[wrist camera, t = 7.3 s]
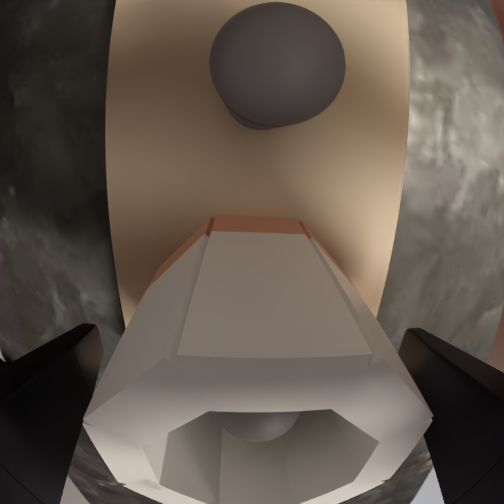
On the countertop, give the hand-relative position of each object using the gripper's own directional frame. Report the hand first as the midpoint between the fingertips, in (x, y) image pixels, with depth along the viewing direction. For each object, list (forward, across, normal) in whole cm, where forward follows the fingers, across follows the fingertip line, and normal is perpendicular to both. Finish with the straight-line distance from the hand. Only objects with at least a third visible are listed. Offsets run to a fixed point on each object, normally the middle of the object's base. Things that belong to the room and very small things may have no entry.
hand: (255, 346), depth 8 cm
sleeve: (+2, 0, 0) cm, 2 cm away
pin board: (+4, 0, -6) cm, 7 cm away
